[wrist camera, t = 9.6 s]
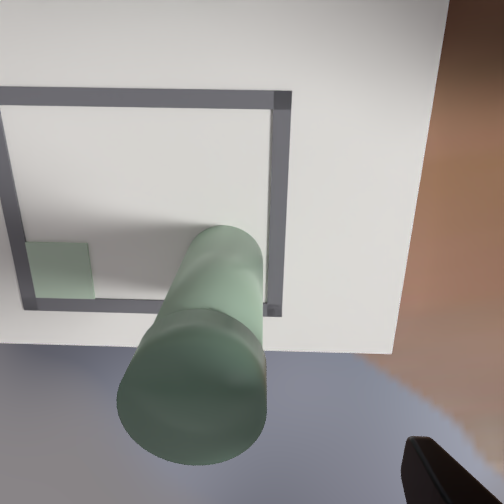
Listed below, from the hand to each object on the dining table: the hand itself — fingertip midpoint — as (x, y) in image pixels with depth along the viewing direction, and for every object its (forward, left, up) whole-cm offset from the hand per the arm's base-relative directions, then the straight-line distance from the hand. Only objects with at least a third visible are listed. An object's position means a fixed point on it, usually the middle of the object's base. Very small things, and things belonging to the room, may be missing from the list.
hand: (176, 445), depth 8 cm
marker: (0, 0, -9) cm, 9 cm away
